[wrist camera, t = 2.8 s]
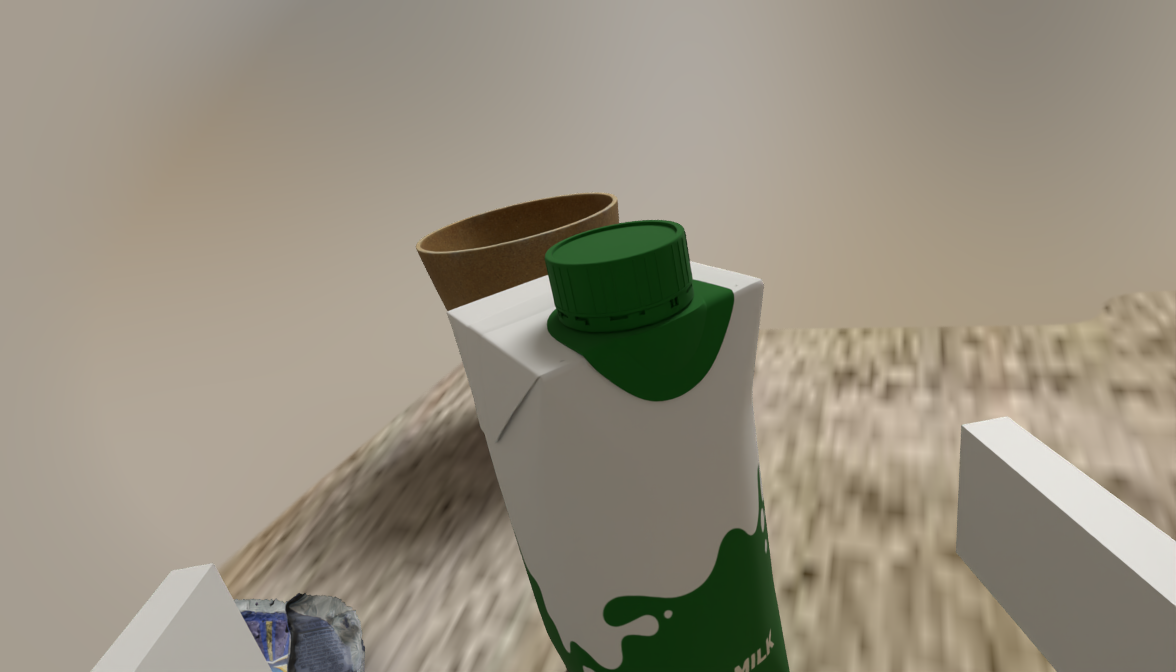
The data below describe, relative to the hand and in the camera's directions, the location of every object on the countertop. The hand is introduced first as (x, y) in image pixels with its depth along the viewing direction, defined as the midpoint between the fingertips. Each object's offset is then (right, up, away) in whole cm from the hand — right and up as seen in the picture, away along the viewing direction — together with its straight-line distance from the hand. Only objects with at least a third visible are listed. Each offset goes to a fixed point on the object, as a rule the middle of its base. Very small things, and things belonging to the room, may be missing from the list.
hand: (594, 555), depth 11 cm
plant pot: (-2, -2, +40) cm, 40 cm away
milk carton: (+4, -11, +16) cm, 20 cm away
